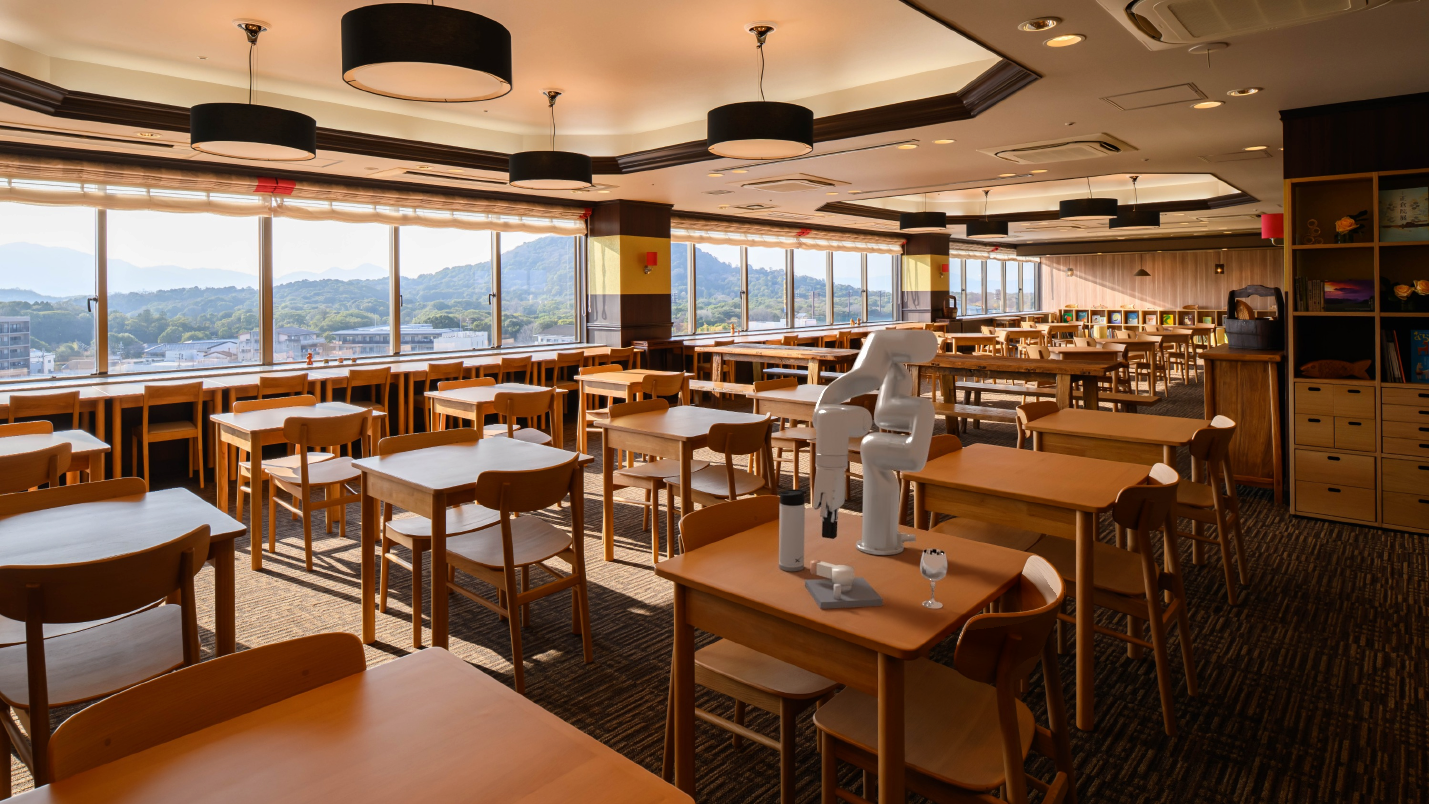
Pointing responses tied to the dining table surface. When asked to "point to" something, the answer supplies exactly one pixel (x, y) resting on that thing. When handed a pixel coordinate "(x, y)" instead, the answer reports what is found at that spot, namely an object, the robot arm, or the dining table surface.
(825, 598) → the post board
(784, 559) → the travel mug
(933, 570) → the wineglass
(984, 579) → the dining table surface
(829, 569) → the lever cap
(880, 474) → the robot arm
